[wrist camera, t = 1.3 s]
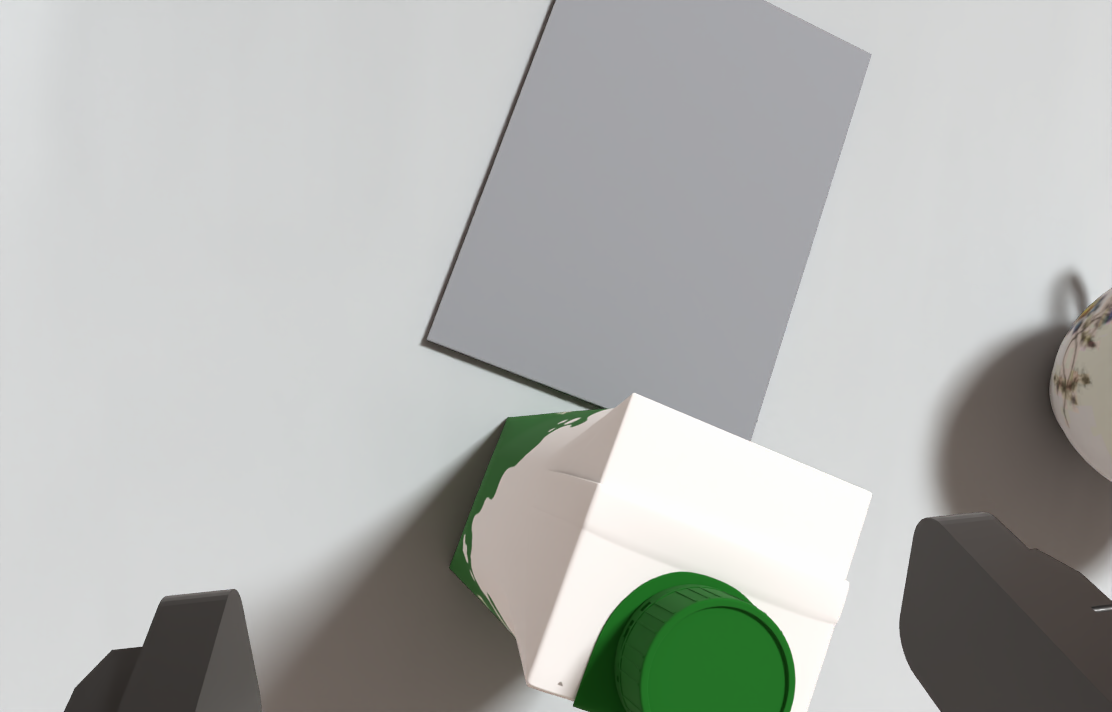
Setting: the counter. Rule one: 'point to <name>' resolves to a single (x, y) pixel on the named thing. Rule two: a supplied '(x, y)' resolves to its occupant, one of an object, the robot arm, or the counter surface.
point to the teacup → (1087, 385)
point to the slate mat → (655, 204)
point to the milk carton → (660, 561)
